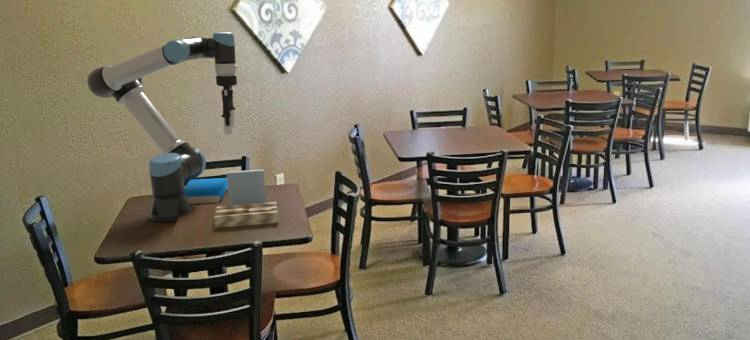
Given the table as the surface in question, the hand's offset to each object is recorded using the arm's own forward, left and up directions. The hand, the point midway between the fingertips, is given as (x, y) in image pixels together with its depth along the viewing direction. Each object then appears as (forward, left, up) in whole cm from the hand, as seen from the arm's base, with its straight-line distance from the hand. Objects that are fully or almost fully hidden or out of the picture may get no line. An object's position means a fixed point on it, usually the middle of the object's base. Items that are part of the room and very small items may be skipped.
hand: (229, 130), depth 230 cm
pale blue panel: (+5, -4, -31) cm, 32 cm away
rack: (+5, -19, -31) cm, 37 cm away
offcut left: (-1, -22, -30) cm, 37 cm away
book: (-14, +22, -32) cm, 41 cm away
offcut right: (+10, -22, -30) cm, 38 cm away
